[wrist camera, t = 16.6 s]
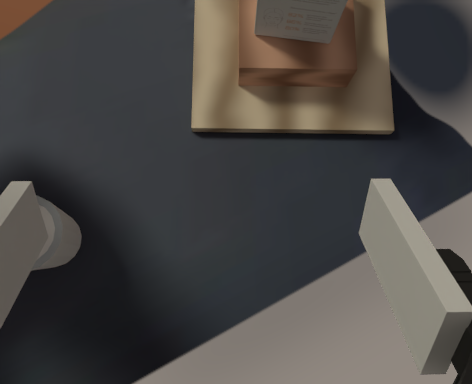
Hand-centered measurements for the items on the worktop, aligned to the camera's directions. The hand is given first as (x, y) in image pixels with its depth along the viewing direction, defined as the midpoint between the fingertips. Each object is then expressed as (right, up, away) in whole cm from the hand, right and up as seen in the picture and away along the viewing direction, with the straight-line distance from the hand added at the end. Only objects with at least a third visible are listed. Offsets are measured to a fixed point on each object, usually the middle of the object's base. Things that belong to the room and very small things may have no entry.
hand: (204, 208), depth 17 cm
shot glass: (-18, -4, +27) cm, 33 cm away
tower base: (+8, +18, +32) cm, 38 cm away
